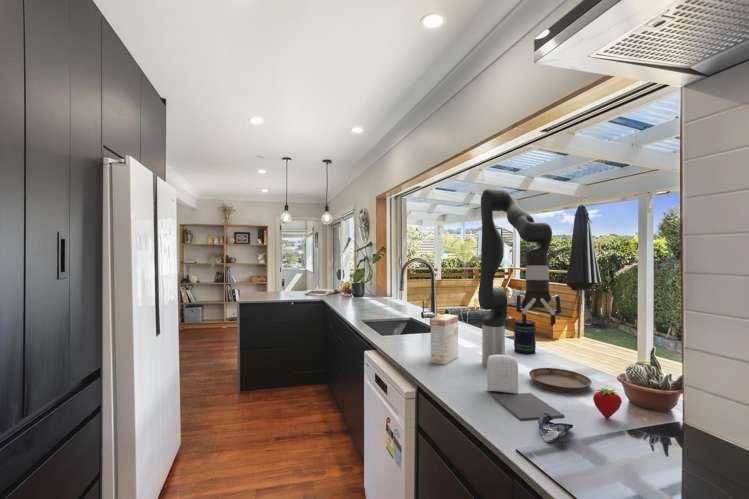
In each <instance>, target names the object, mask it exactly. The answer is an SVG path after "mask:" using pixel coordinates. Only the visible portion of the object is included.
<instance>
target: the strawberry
mask: <svg viewBox="0 0 749 499" xmlns="http://www.w3.org/2000/svg"><path fill="white" fill-rule="evenodd" d="M606 387H608V384H606ZM615 391H616V390H615V389H609V388H605V387H604V388H603V387H600V389H596V392H595V393H594V394H593V397H592V400H593V403H594V405H595V407H596V408H597V409H598V412H600V414H601V415H602V416H603V417H604V418H605V419H609V418H611V417H612V416H613V415H614V414H615V413H616V412H617V411H619V409H620V408H621V405H622V398H621V397H620V395H619V394H618V393H617V392H615Z"/></svg>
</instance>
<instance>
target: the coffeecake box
mask: <svg viewBox="0 0 749 499" xmlns="http://www.w3.org/2000/svg"><path fill="white" fill-rule="evenodd" d="M457 358H459V315H458V314H457V315H456V314H449V313H444V314H441V315H438V316H435V317H431V318H430V363H432V364H438V365H443V366H445V365H447V364H449V363H450V362H452V361H454V360H455V359H457Z"/></svg>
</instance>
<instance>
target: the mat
mask: <svg viewBox="0 0 749 499" xmlns="http://www.w3.org/2000/svg"><path fill="white" fill-rule="evenodd" d="M491 398H493V399H494V400H495V401H496V402H497V403H499V404H500V405H501V406H502V407H504V409H506V410H507V411H508V412H509V413H511V415H513V416H514V417H516V419H518V420H519V421H529V420H530V421H531V420H539V418H540V417H541V416H542V415H543V414H544V413H547V414H549V415H550V416H551V417H552V418H553V419H557V418H559V419H560V418H565V414H564V413H562V412H560V411H558V410H557V409H556V408H555V407H552V405H549V404H548V403H547V402H545V401H543V400H542V399H541V398H540V397H537V396H536V395H534V394H533V393H532V392H523V393H521V392H520V393H519V392H518V393H517V394H516V393H506V394H505V393H504V394H491Z"/></svg>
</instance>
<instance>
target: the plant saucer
mask: <svg viewBox="0 0 749 499" xmlns="http://www.w3.org/2000/svg"><path fill="white" fill-rule="evenodd" d="M528 374H529V377H530V378H531V380H532V381H533V382H534V383H535V384H536V385H537V386H539V387H541V388H543V389H546V390H549V391H553V392H556V393H566V394H575V393H582V392H584V391H586V390H588V388H590V386H591V385H592V379H590V378H589V377H588V376H586V375H584V374H582V373H579V372H576V371H572V370H567V369H564V368H563V369H562V368H555V367H537V368H533V369H531V370H529V371H528Z"/></svg>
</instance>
